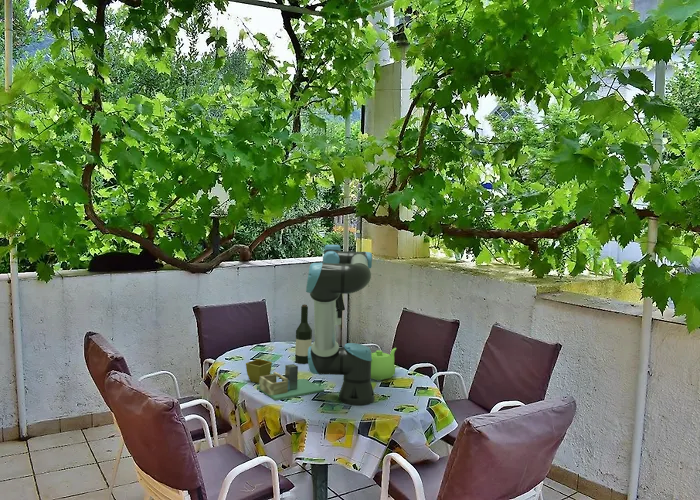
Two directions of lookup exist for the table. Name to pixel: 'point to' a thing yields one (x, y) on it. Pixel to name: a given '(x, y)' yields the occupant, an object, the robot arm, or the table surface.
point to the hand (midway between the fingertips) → (330, 322)
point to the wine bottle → (303, 337)
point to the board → (297, 390)
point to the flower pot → (258, 369)
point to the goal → (273, 384)
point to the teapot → (382, 365)
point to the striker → (291, 376)
